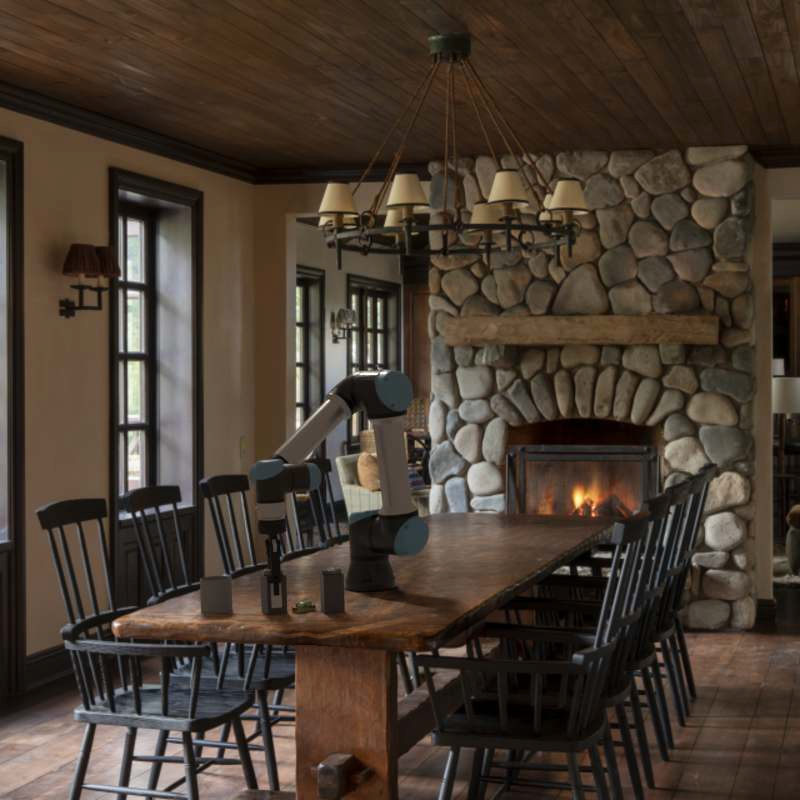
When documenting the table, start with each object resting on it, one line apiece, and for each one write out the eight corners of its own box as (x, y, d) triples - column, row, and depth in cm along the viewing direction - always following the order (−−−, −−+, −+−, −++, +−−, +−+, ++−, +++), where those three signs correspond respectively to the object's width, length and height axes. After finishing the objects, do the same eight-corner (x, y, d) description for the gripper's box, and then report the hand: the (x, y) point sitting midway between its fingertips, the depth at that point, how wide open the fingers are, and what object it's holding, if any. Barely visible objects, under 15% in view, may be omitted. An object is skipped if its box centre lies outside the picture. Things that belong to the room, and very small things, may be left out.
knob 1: (280, 609, 348) (279, 567, 348) (287, 612, 343) (286, 569, 343) (261, 611, 346) (260, 568, 346) (267, 614, 341) (266, 571, 341)
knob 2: (320, 610, 346) (319, 567, 345) (340, 608, 347) (339, 566, 347) (324, 613, 340) (323, 570, 340) (344, 612, 342) (343, 569, 341)
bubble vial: (310, 609, 348) (310, 600, 348) (315, 610, 346) (315, 601, 346) (292, 613, 344) (291, 603, 344) (297, 614, 342) (297, 604, 342)
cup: (234, 611, 354) (232, 575, 354) (231, 617, 346) (230, 580, 345) (202, 613, 354) (201, 576, 353) (199, 618, 345) (198, 581, 345)
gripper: (255, 515, 353) (259, 599, 354) (259, 523, 334) (264, 612, 335) (282, 513, 354) (286, 597, 355) (289, 521, 335) (293, 610, 336)
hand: (275, 604), depth 345 cm, fingers closed on knob 1, 6 cm apart
